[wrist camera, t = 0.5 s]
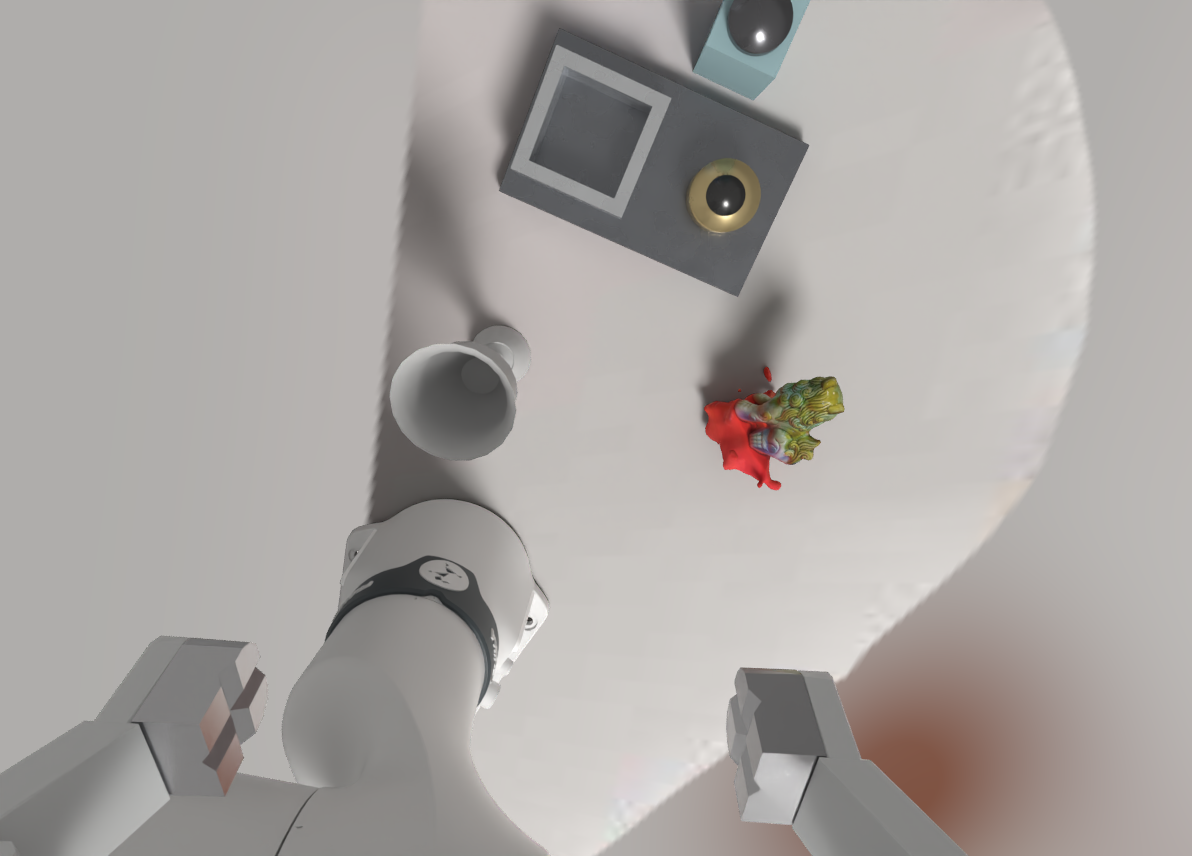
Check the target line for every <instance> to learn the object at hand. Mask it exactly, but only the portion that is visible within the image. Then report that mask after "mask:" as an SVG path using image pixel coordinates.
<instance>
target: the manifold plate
mask: <svg viewBox="0 0 1192 856" xmlns="http://www.w3.org/2000/svg"><path fill="white" fill-rule="evenodd" d="M808 147H809V145H808V144H806V143H804V142H802V141H800V140H797V139H795V138H793V137H791V136H789V135H787V134H785V133H782V132H780V131H778V130H776V129H774V128H772V127H770V126H768V125H765V124H763V123H761V122H759V121H757V120H755V119H753V118H750V117H748V116H746V115H744V114H742V113H740V112H738V111H735V110H733V109H731V108H729V107H727V106H725V105H723V104H721V103H718V102H716V101H714V100H712V99H710V98H708V97H706V96H703V95H701V94H699V93H697V92H695V91H693V90H691V89H689V88H686V87H684V86H682V85H680V84H678V83H676V82H674V81H671V80H669V79H667V78H665V77H663V76H661V75H659V74H656V73H654V72H652V71H650V70H648V69H646V68H644V67H642V66H639V65H637V64H635V63H633V62H631V61H629V60H627V59H624V58H622V57H620V56H618V55H616V54H614V53H612V52H610V51H607V50H605V49H603V48H601V47H599V46H597V45H595V44H592V43H590V42H588V41H586V40H584V39H582V38H580V37H577V36H575V35H573V34H571V33H569V32H567V31H565V30H563V29H560V28H559V31H558V33H557V36H556V39H555V41H554V44H553V47H552V49H551V52H550V55H549V58H548V60H547V63H546V66H545V68H544V71H543V74H542V76H541V79H540V82H539V85H538V87H537V90H536V93H535V95H534V98H533V101H532V103H531V106H530V109H529V111H528V114H527V117H526V120H525V122H524V125H523V128H522V130H521V133H520V136H519V138H518V141H517V144H516V146H515V149H514V152H513V155H512V157H511V160H510V163H509V165H508V168H507V171H506V173H505V176H504V179H503V182H502V184H501V187H500V190H499V191H500V192H502V193H504V194H507V195H509V196H511V197H514V198H516V199H518V200H520V201H523V202H525V203H527V204H529V205H532V206H534V207H536V208H538V209H541V210H543V211H545V212H547V213H550V214H552V215H554V216H556V217H559V218H561V219H563V220H565V221H568V222H570V223H572V224H574V225H577V226H579V227H581V228H583V229H586V230H588V231H590V232H592V233H595V234H597V235H599V236H601V237H604V238H606V239H608V240H610V241H613V242H615V243H617V244H619V245H622V246H624V247H626V248H628V249H631V250H633V251H635V252H638V253H640V254H642V255H644V256H647V257H649V258H651V259H653V260H656V261H658V262H660V263H662V264H665V265H667V266H669V267H671V268H674V269H676V270H678V271H680V272H683V273H685V274H687V275H689V276H692V277H694V278H696V279H698V280H701V281H703V282H705V283H707V284H710V285H712V286H714V287H716V288H719V289H721V290H723V291H725V292H728V293H730V294H732V295H734V296H737V297H738V295H739V293H740V291H741V289H742V287H743V285H744V282H745V280H746V278H747V276H748V274H749V272H750V270H751V268H752V266H753V263H754V261H755V259H756V257H757V255H758V253H759V251H760V249H761V246H762V244H763V242H764V240H765V238H766V236H767V234H768V232H769V230H770V227H771V225H772V223H773V221H774V219H775V217H776V215H777V213H778V211H779V208H780V206H781V204H782V202H783V200H784V198H785V196H786V194H787V192H788V189H789V187H790V185H791V183H792V181H793V179H794V177H795V175H796V172H797V170H798V168H799V166H800V164H801V162H802V160H803V158H804V156H805V153H806V151H807V149H808Z"/></svg>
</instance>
